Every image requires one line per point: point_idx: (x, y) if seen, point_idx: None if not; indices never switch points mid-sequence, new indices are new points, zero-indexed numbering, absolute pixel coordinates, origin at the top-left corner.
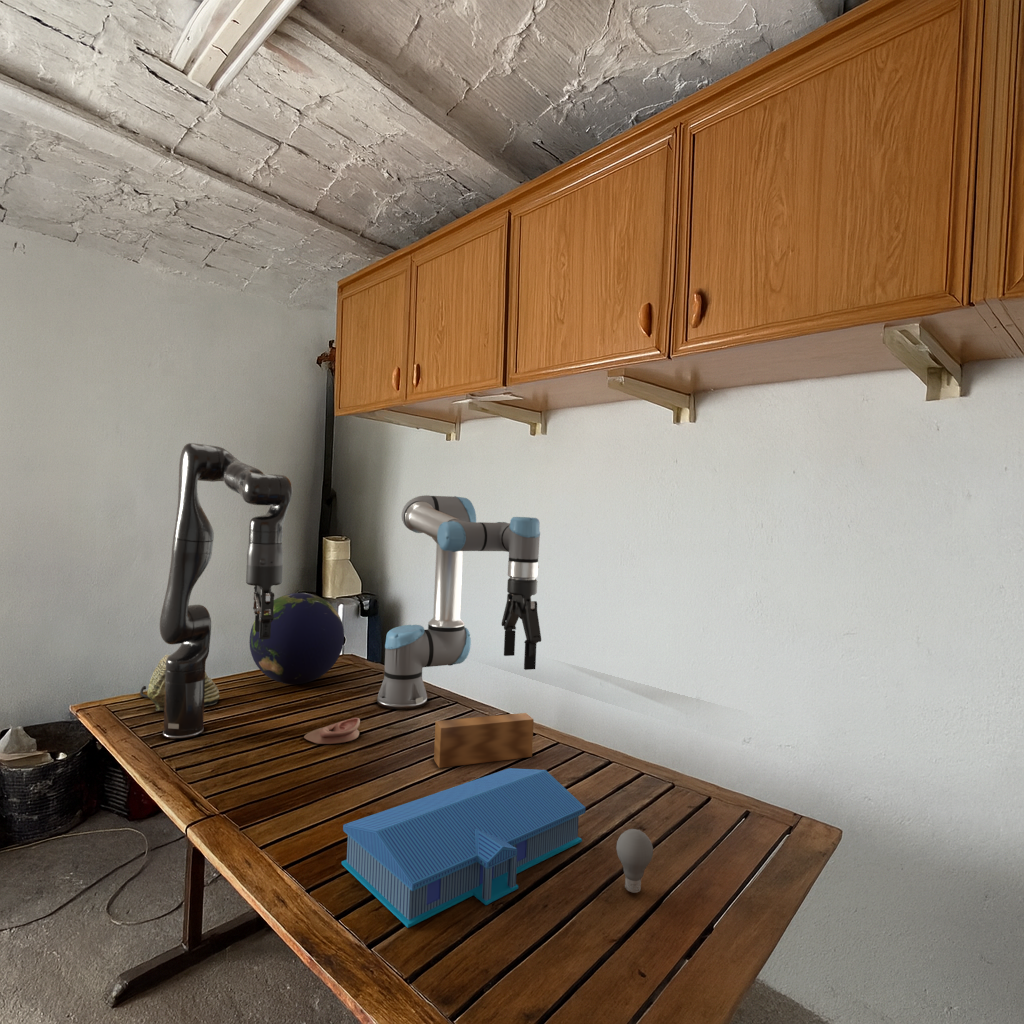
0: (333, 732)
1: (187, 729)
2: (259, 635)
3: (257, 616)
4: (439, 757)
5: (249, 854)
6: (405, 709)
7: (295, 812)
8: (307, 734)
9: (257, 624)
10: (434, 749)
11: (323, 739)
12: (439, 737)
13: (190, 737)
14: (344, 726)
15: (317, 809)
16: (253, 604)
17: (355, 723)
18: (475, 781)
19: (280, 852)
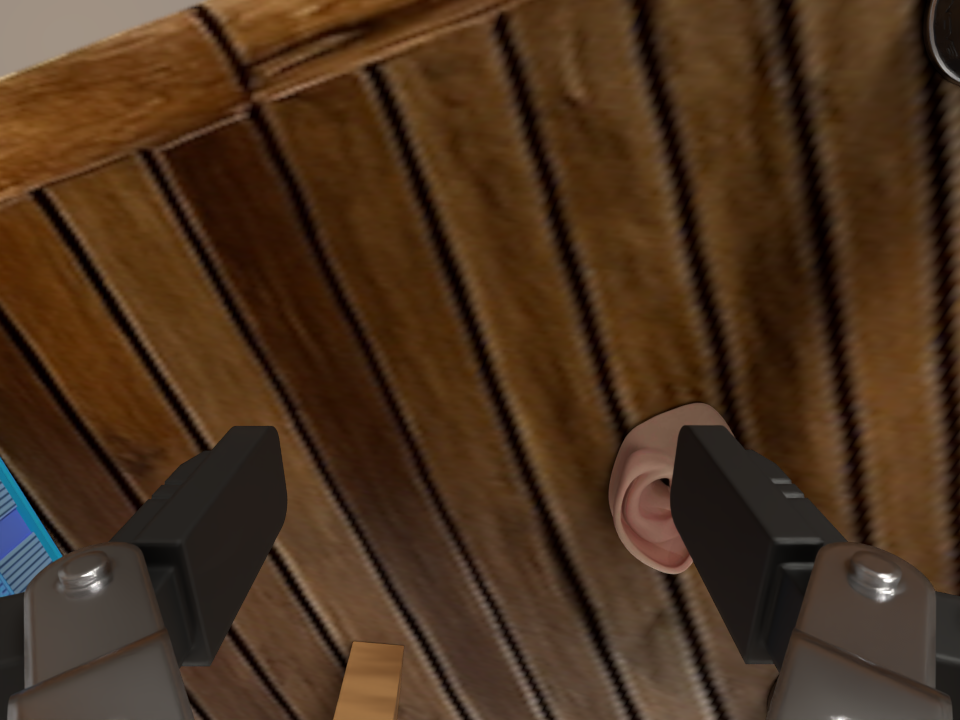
0: (636, 485)
1: (952, 12)
2: (244, 437)
3: (761, 557)
4: (347, 663)
5: (8, 160)
6: (773, 687)
7: (206, 298)
8: (699, 416)
9: (712, 486)
10: (398, 668)
11: (634, 449)
12: (344, 709)
13: (923, 33)
14: (668, 523)
15: (210, 350)
16: (868, 695)
17: (668, 554)
18: None
19: (8, 233)
